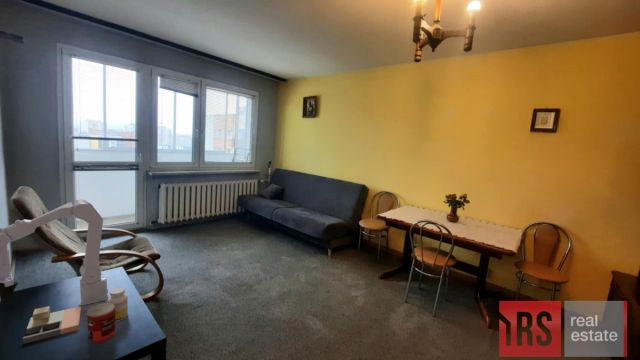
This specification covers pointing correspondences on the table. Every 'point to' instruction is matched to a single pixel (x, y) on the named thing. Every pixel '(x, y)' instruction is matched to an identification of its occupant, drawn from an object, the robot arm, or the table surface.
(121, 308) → the pill bottle
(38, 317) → the birch block
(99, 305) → the canned food
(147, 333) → the table surface
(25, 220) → the robot arm
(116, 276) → the table surface
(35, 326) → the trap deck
